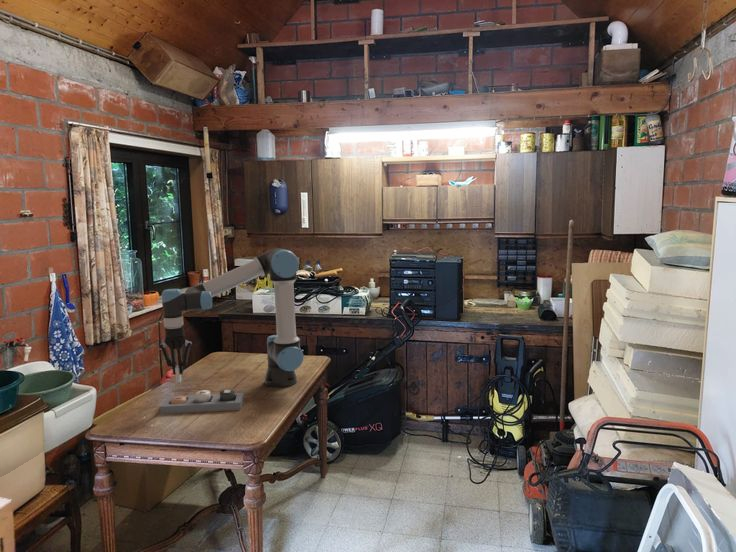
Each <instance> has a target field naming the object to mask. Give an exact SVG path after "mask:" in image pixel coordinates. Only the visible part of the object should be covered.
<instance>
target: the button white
mask: <svg viewBox="0 0 736 552" xmlns="http://www.w3.org/2000/svg"><path fill="white" fill-rule="evenodd" d="M210 394H211V390H208V389H204V390H203V389H202V390H199V391H196V392H195V394H194V395H196V402H197V403H201V402H209V401H210V400H211V395H210Z"/></svg>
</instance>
